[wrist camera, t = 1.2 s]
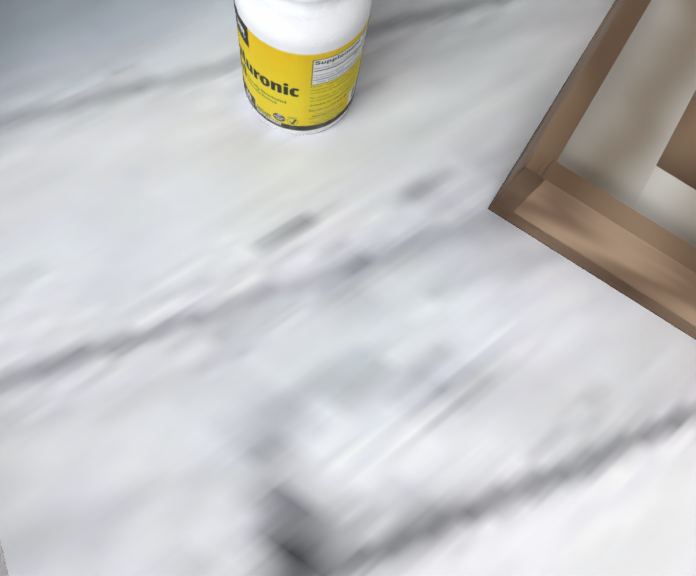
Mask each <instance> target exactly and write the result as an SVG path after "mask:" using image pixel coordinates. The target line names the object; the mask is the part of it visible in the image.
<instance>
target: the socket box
mask: <svg viewBox="0 0 696 576" xmlns="http://www.w3.org/2000/svg"><path fill="white" fill-rule="evenodd" d="M488 209H489V210H491V211H492V212H494V213H496V214H497V215H499V216H500V217H502V218H504V219H505V220H507V221H508V222H510V223H511V224H513V225H515V226H516V227H518V228H519V229H521V230H523V231H524V232H526V233H527V234H529V235H531V236H532V237H534V238H535V239H537V240H538V241H540V242H542V243H543V244H545V245H546V246H548V247H550V248H551V249H553V250H554V251H556V252H558V253H559V254H561V255H562V256H564V257H565V258H567V259H569V260H570V261H572V262H573V263H575V264H577V265H578V266H580V267H581V268H583V269H584V270H586V271H588V272H589V273H591V274H592V275H594V276H596V277H597V278H599V279H600V280H602V281H604V282H605V283H607V284H608V285H610V286H611V287H613V288H615V289H616V290H618V291H619V292H621V293H623V294H624V295H626V296H627V297H629V298H631V299H632V300H634V301H635V302H637V303H638V304H640V305H642V306H643V307H645V308H646V309H648V310H650V311H651V312H653V313H654V314H656V315H658V316H659V317H661V318H662V319H664V320H665V321H667V322H669V323H670V324H672V325H673V326H675V327H677V328H678V329H680V330H681V331H683V332H685V333H686V334H688V335H689V336H691V337H692V338H694V339H696V0H616V1H615V2H614V4H613V6H612V7H611V9H610V10H609V12H608V14H607V15H606V17H605V19H604V20H603V22H602V23H601V25H600V27H599V28H598V30H597V32H596V33H595V35H594V36H593V38H592V40H591V41H590V43H589V45H588V46H587V48H586V50H585V51H584V53H583V54H582V56H581V58H580V59H579V61H578V63H577V64H576V66H575V67H574V69H573V71H572V72H571V74H570V76H569V77H568V79H567V81H566V82H565V84H564V85H563V87H562V89H561V90H560V92H559V94H558V95H557V97H556V98H555V100H554V102H553V103H552V105H551V107H550V108H549V110H548V111H547V113H546V115H545V116H544V118H543V120H542V121H541V123H540V125H539V126H538V128H537V129H536V131H535V133H534V134H533V136H532V138H531V139H530V141H529V142H528V144H527V146H526V147H525V149H524V151H523V152H522V154H521V156H520V157H519V159H518V160H517V162H516V164H515V165H514V167H513V169H512V170H511V172H510V173H509V175H508V177H507V178H506V180H505V182H504V183H503V185H502V186H501V188H500V190H499V191H498V193H497V195H496V196H495V198H494V200H493V201H492V203H491V204H490V206H489V208H488Z"/></svg>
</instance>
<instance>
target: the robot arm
mask: <svg viewBox="0 0 696 576" xmlns="http://www.w3.org/2000/svg"><path fill="white" fill-rule="evenodd" d="M0 576H8V572H7V567H6V563H5V559H4V555H3V551H2V546H1V542H0Z"/></svg>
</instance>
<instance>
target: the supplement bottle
mask: <svg viewBox="0 0 696 576" xmlns="http://www.w3.org/2000/svg"><path fill="white" fill-rule="evenodd" d="M371 5H372V0H234V6H235V13H236V20H237V28H238V37H239V46H240V55H241V64H242V71H243V81H244V87H245V91H246V95H247V98H248V101H249V103H250V105H251V107H252V109H253V110H254V111H255V113H256V114H257V115H258V116H259V117H260V118H261V119H262V120H263V121H264V122H265V123H267V124H268V125H270V126H271V127H273V128H275V129H277V130H280V131H282V132H285V133H289V134H295V135H308V134H314V133H318V132H321V131H323V130H326V129H328V128H330V127H331V126H333V125H334V124H336V123H337V122H338V121H339V120H340V119H341V118H342V117H343V116H344V115H345V113H346V112H347V110H348V109H349V107H350V104H351V102H352V99H353V96H354V91H355V87H356V82H357V76H358V71H359V67H360V62H361V56H362V52H363V47H364V42H365V37H366V31H367V27H368V21H369V17H370V12H371Z"/></svg>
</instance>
